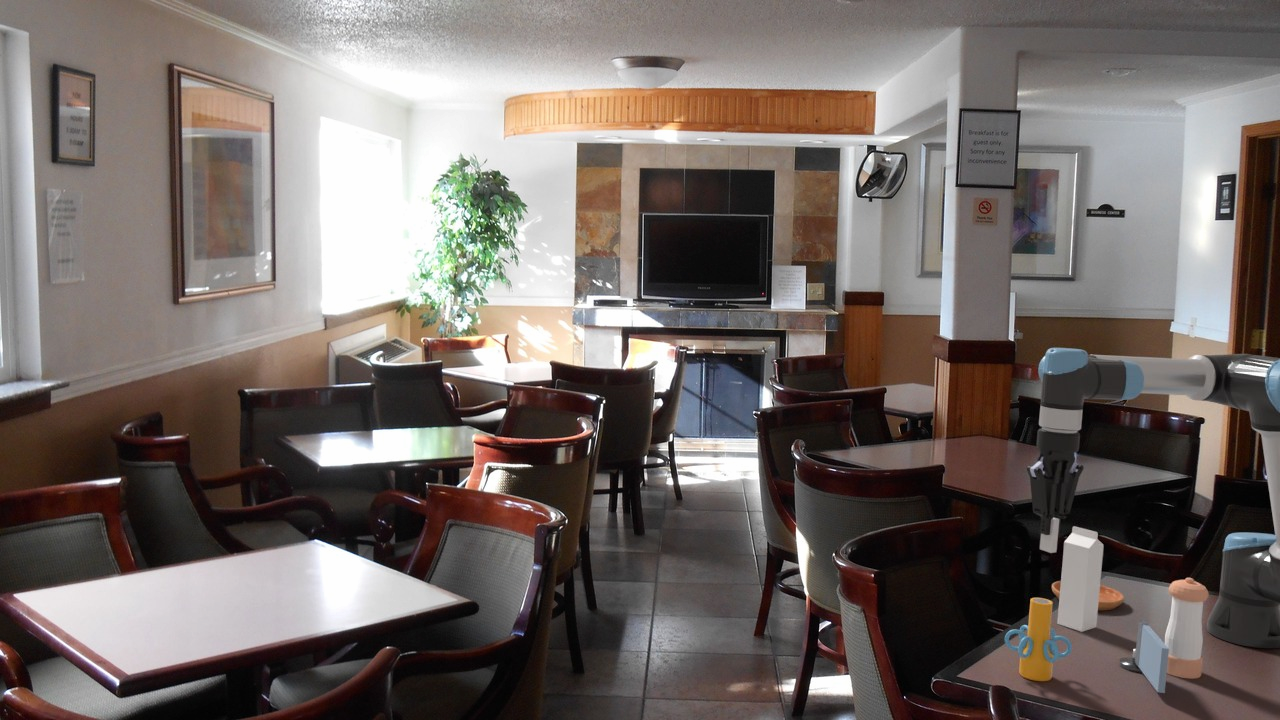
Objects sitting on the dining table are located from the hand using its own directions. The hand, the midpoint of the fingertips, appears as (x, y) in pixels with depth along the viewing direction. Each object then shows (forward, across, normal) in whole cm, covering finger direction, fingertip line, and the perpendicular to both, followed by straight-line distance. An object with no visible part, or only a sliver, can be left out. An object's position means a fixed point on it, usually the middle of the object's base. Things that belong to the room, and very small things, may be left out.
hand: (1047, 550), depth 203 cm
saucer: (+25, -49, -29) cm, 62 cm away
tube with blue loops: (+25, 0, 0) cm, 25 cm away
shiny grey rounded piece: (+25, -23, +4) cm, 34 cm away
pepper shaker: (+25, -30, +9) cm, 40 cm away
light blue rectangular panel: (+23, -18, +11) cm, 31 cm away
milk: (+25, -32, -18) cm, 44 cm away
